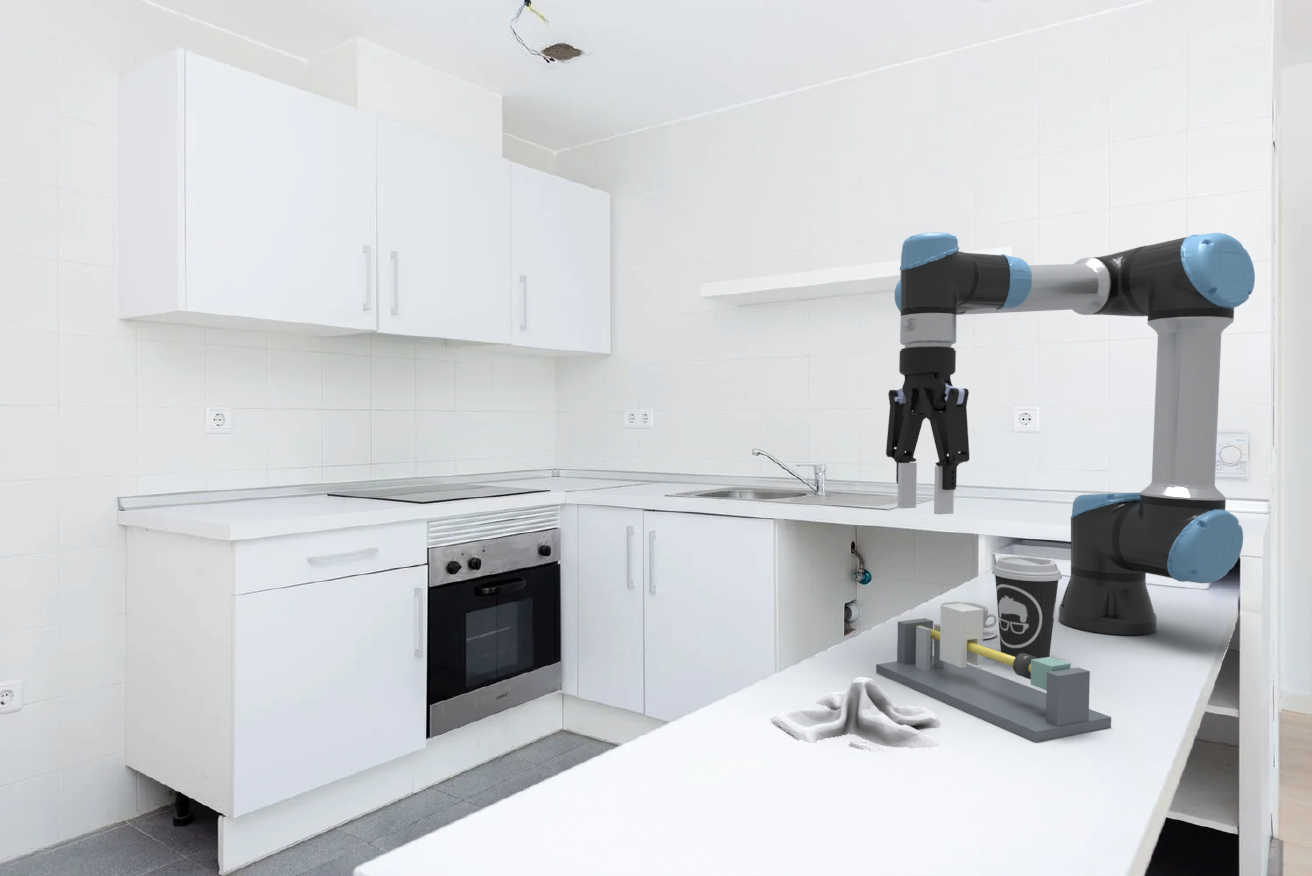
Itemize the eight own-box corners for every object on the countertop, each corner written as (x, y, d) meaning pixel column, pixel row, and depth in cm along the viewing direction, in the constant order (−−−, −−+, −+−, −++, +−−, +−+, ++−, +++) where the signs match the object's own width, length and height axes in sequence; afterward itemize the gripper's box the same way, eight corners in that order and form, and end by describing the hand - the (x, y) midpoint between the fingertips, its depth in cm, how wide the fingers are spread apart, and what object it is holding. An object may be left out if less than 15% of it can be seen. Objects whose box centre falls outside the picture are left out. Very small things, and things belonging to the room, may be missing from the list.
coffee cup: (1067, 673, 123) (1070, 568, 123) (996, 668, 125) (998, 565, 125) (1051, 654, 132) (1053, 556, 132) (985, 650, 134) (986, 554, 134)
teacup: (930, 638, 142) (931, 610, 142) (935, 624, 152) (935, 598, 151) (995, 645, 139) (996, 615, 138) (996, 630, 148) (997, 603, 148)
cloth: (750, 737, 100) (751, 684, 99) (812, 693, 115) (813, 647, 115) (949, 782, 88) (950, 722, 87) (988, 727, 103) (989, 676, 103)
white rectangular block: (939, 659, 117) (940, 605, 117) (960, 656, 118) (961, 603, 118) (961, 668, 113) (962, 611, 113) (982, 664, 115) (983, 609, 114)
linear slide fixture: (876, 672, 123) (877, 619, 122) (942, 663, 127) (943, 612, 127) (1035, 742, 97) (1037, 676, 97) (1111, 727, 102) (1112, 663, 102)
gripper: (861, 350, 129) (859, 504, 130) (957, 340, 111) (954, 520, 111) (902, 351, 132) (899, 502, 133) (1002, 342, 114) (998, 517, 115)
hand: (924, 510), depth 122 cm, fingers open, 7 cm apart
